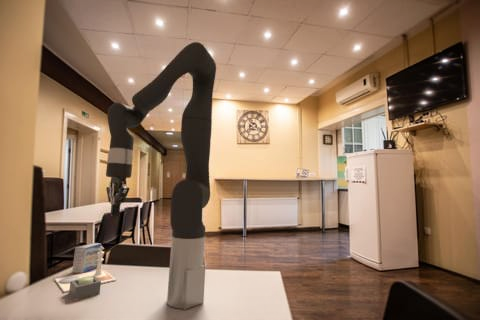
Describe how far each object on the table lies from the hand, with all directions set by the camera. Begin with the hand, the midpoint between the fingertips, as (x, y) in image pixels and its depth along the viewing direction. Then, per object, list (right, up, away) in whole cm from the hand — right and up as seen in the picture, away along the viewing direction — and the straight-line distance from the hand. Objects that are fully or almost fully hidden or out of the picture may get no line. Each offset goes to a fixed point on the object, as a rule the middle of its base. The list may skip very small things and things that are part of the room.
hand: (114, 216), depth 75 cm
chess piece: (-6, -21, +1) cm, 22 cm away
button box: (-4, -20, -9) cm, 22 cm away
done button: (-4, -18, -9) cm, 21 cm away
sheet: (-10, -21, 0) cm, 23 cm away
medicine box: (-16, -22, +10) cm, 29 cm away
